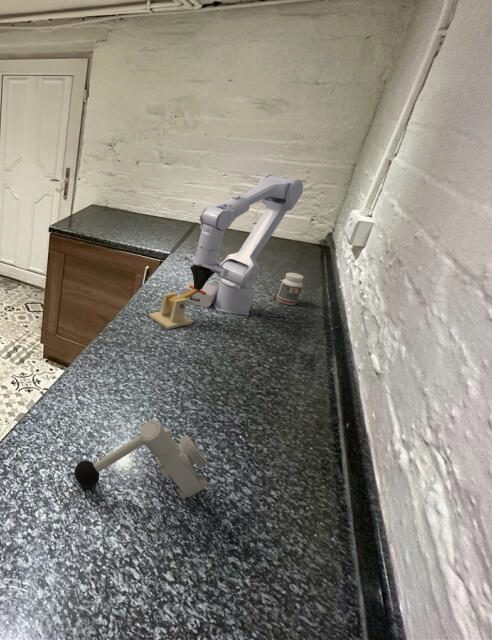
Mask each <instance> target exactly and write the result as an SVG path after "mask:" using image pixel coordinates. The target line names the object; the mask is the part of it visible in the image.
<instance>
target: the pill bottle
mask: <svg viewBox="0 0 492 640" xmlns="http://www.w3.org/2000/svg"><path fill="white" fill-rule="evenodd" d="M304 277H305V276H303V275H302V274H300V273H297V272H286V274H285V278H283V279H282V281H281V283H280V285H279V289H278V292H277V294H276V300H277V301H278V302H279V303H281V304H285V305H288V306H289V305H290V306H295V305H296V304H297V302H298V300H299V298H300V294H301V292H302V290H303V289H302V288H303V283H302V282H303V280H304Z"/></svg>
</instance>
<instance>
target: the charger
mask: <svg viewBox="0 0 492 640" xmlns="http://www.w3.org/2000/svg"><path fill="white" fill-rule="evenodd" d="M190 285H192V286H194V280H191V281H189V282H188V283H187V284H186V285H185V286H183V287H182V288H181V290H180V295H179V297H180V296H182V295H184V294H185V293H187V292H189V291H191V290H193V289H191V288H190V287H189V286H190ZM218 289H219V287H217V286H215V285H213V284H211V283H207V282H206V283H205V285H204V286H203V288H202V289H200V290H202V291H204V292H206V295H203V294H201V293H199V292H198V293H196V294H194V295H192V296H190V297H188V298H187V299H188V301H187V303H188V302H189V303H191V304H195V305H196V306H197V305H198V306H201V307H204V308H209V307H211V305H213V304H212V303H213V302H214V301H215V300H216V296H217V293H218Z"/></svg>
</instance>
